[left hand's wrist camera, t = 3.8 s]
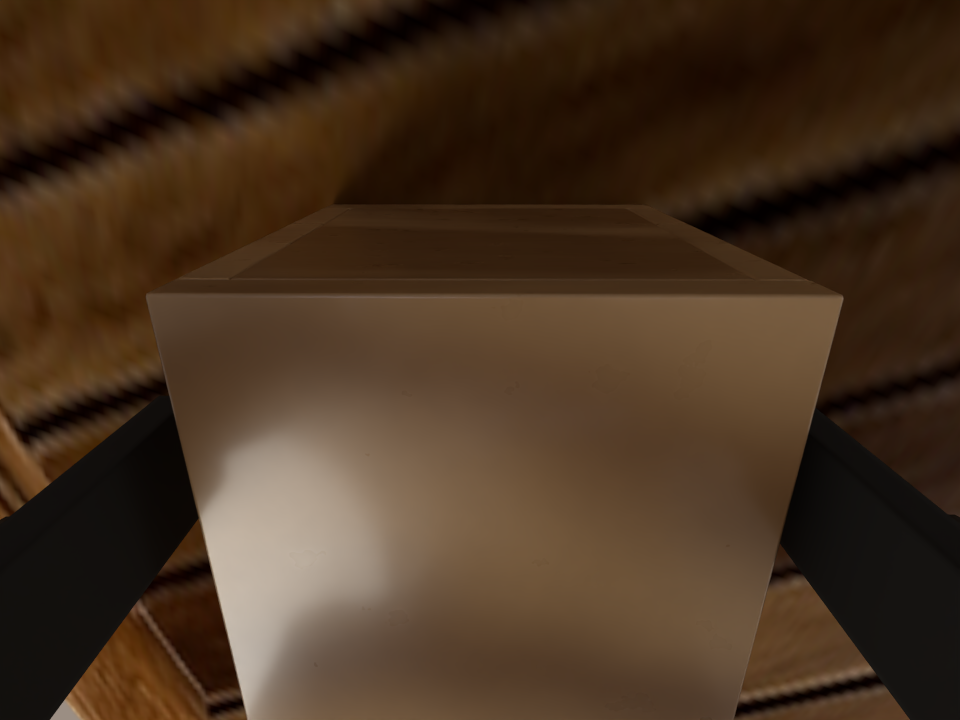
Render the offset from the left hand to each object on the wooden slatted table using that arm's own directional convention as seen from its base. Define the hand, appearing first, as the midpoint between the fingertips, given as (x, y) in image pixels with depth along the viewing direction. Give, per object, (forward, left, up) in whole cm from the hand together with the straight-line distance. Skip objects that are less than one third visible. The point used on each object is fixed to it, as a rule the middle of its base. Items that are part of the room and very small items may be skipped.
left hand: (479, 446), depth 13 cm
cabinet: (+1, +4, -8) cm, 9 cm away
